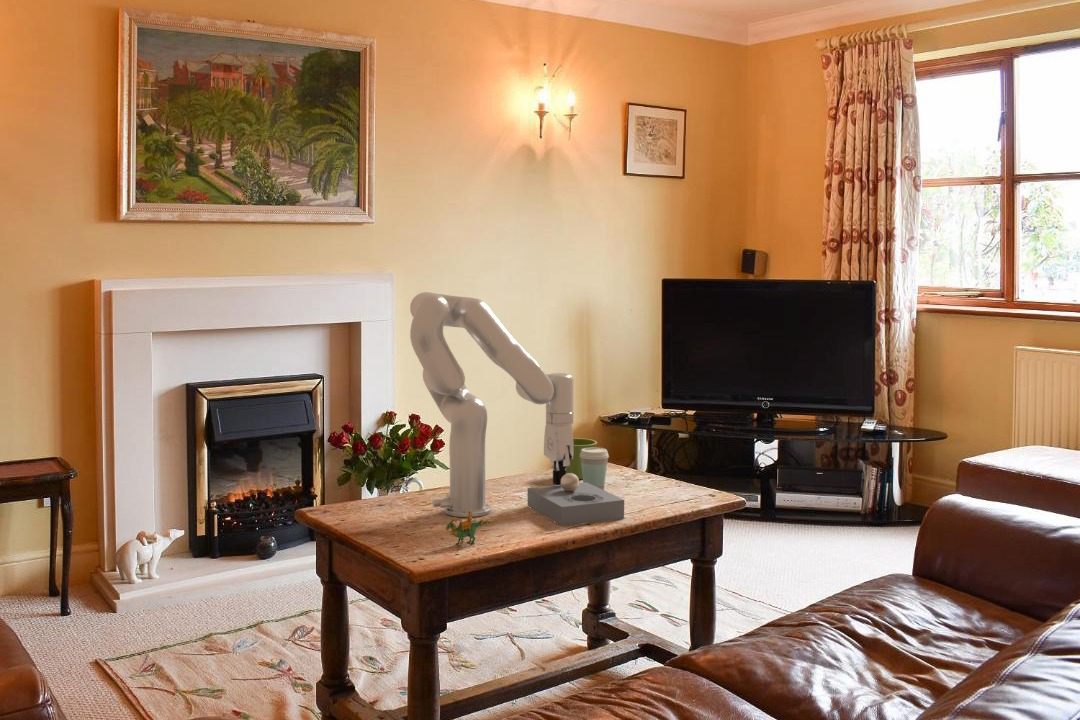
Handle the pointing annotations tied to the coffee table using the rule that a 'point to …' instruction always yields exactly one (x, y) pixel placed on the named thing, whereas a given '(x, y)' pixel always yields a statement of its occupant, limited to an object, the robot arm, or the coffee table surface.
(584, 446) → the plant pot
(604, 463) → the coffee cup
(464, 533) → the figurine
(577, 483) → the ball
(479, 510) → the robot arm
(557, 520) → the grey flat block
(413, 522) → the coffee table surface
